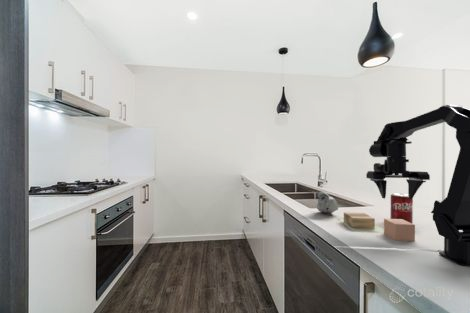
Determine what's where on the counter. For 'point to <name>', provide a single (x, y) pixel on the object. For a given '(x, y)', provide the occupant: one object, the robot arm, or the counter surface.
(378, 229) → the build plate
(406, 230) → the terracotta block
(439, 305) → the counter surface
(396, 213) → the soda can
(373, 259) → the counter surface
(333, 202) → the grey rounded lump
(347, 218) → the oak block
